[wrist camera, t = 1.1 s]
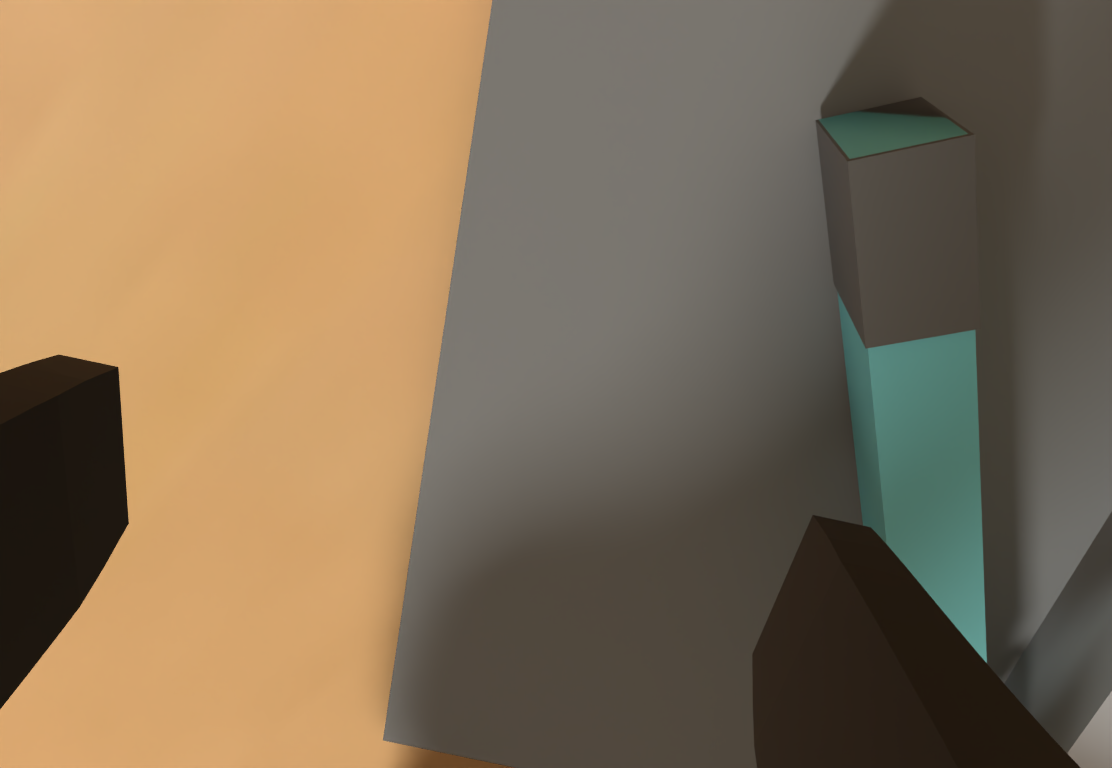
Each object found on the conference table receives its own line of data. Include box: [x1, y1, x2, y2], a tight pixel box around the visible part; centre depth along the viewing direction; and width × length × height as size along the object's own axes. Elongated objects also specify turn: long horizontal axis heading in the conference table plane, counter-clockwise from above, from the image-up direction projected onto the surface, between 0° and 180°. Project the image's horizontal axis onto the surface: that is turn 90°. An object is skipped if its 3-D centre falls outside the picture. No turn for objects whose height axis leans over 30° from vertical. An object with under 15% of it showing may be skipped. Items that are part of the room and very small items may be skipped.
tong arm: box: [815, 97, 987, 663], centre depth 17 cm, size 14×2×3 cm, turn 14°
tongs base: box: [1004, 512, 1112, 768], centre depth 17 cm, size 19×4×4 cm, turn 169°
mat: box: [383, 0, 1112, 768], centre depth 19 cm, size 22×18×1 cm
